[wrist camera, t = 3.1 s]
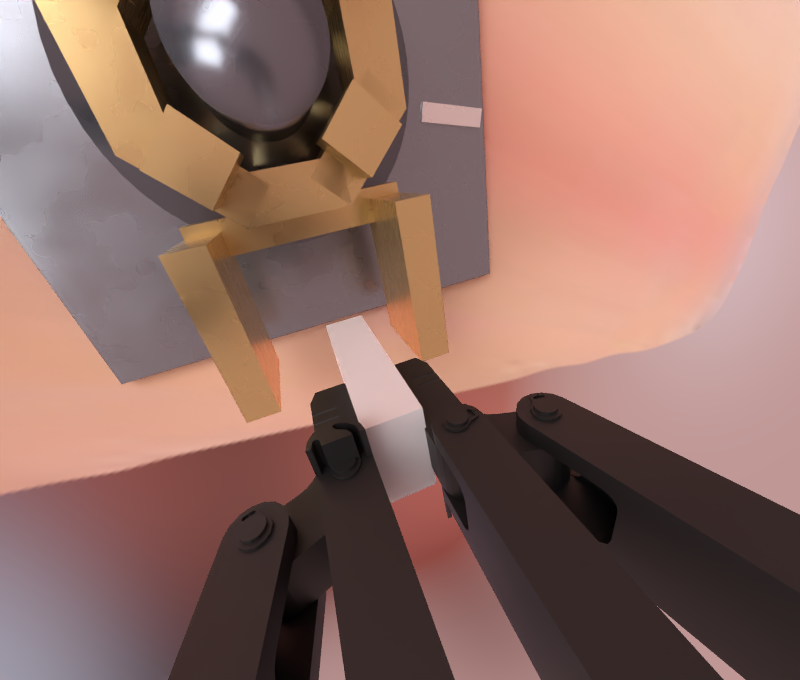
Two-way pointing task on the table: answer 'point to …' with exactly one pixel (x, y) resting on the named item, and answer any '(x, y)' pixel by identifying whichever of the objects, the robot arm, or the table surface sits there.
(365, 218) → the octagonal ring stand
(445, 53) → the cap plate
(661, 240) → the table surface
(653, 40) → the table surface
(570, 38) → the table surface
